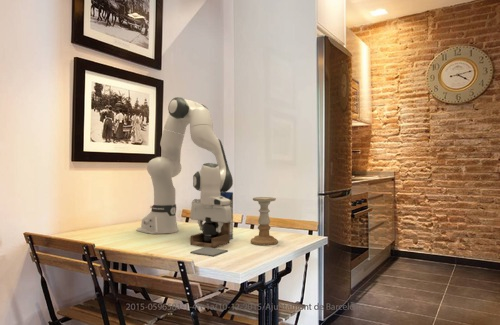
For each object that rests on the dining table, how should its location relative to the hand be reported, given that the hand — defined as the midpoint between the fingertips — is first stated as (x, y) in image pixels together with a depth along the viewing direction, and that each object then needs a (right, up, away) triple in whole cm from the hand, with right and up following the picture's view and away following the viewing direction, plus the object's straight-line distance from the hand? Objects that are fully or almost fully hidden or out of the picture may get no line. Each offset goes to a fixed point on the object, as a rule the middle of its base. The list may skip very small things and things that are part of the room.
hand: (210, 231), depth 160 cm
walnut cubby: (0, -6, 0) cm, 6 cm away
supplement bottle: (0, -6, 0) cm, 6 cm away
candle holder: (+24, -6, +4) cm, 25 cm away
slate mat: (+1, -5, -16) cm, 17 cm away
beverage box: (+3, -6, +13) cm, 15 cm away
